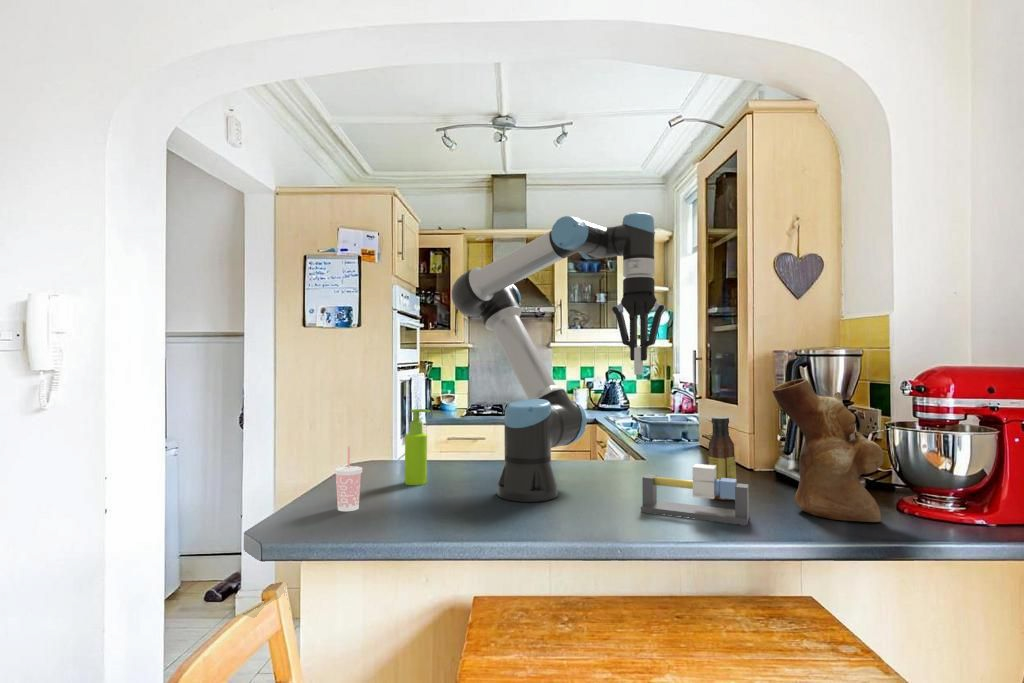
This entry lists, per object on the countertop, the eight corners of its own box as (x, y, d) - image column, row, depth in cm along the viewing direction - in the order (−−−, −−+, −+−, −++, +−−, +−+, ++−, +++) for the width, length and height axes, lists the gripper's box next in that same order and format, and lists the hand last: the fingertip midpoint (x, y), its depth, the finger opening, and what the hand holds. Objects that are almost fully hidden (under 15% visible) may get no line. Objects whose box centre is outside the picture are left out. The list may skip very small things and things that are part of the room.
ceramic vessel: (895, 528, 116) (894, 381, 116) (780, 520, 121) (779, 379, 122) (867, 507, 131) (866, 378, 132) (765, 501, 136) (764, 376, 137)
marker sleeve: (692, 496, 123) (692, 467, 123) (695, 492, 127) (695, 463, 127) (714, 499, 121) (713, 468, 121) (716, 494, 125) (716, 465, 125)
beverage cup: (328, 510, 127) (329, 447, 127) (345, 503, 133) (345, 443, 133) (351, 513, 125) (351, 449, 125) (367, 506, 130) (368, 445, 131)
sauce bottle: (732, 495, 142) (732, 415, 143) (740, 501, 136) (739, 418, 136) (705, 494, 143) (705, 415, 143) (711, 501, 137) (711, 418, 137)
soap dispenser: (428, 485, 151) (429, 410, 152) (402, 485, 151) (403, 410, 152) (432, 480, 157) (432, 408, 157) (407, 480, 157) (407, 408, 158)
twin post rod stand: (640, 512, 127) (640, 474, 127) (647, 504, 133) (647, 469, 133) (746, 525, 117) (746, 485, 117) (749, 517, 123) (749, 478, 123)
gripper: (608, 277, 138) (608, 374, 138) (662, 274, 132) (662, 375, 132) (616, 281, 145) (616, 373, 144) (668, 278, 139) (668, 374, 139)
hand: (638, 374), depth 138 cm, fingers closed
